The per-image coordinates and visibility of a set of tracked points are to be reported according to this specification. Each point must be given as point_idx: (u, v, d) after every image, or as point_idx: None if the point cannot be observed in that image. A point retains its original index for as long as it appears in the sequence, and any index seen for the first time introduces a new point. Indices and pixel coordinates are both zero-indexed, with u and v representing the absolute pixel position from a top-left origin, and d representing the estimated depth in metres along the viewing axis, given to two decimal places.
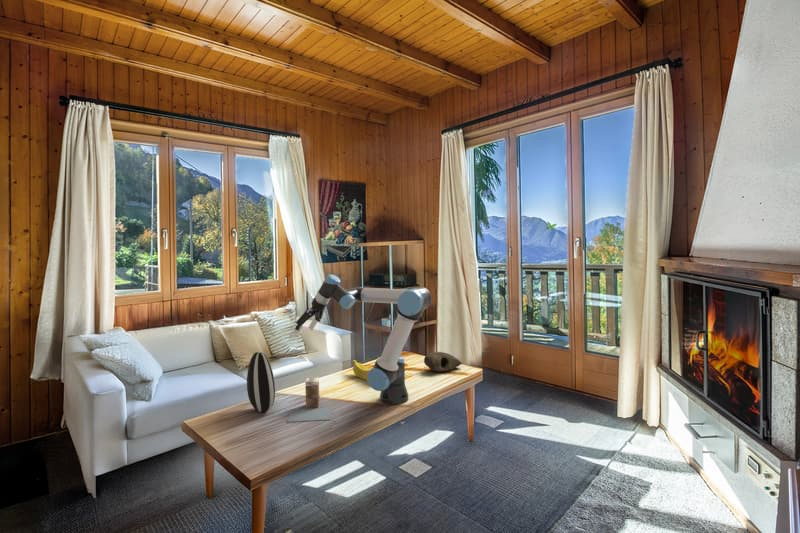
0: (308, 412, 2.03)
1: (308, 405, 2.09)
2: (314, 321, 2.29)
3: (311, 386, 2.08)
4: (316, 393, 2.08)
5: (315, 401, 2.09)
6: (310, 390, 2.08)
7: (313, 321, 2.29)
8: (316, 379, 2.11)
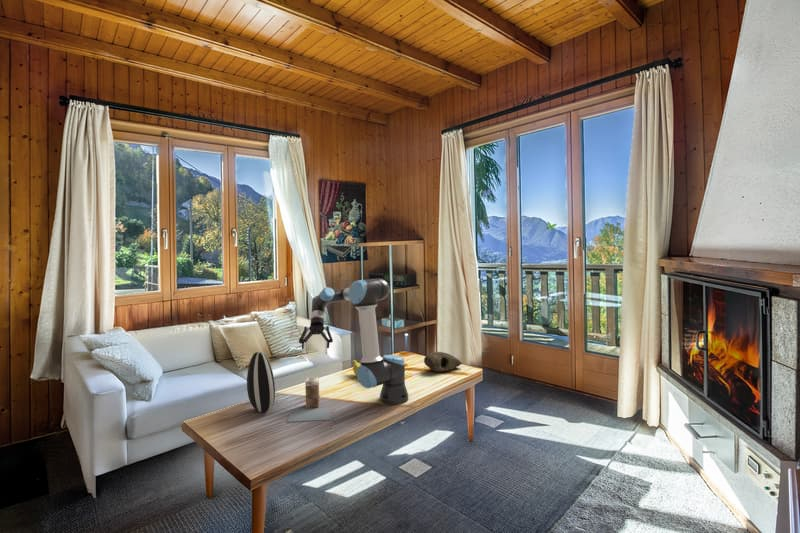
0: (308, 412, 2.03)
1: (308, 405, 2.09)
2: None
3: (311, 386, 2.08)
4: (316, 393, 2.08)
5: (315, 401, 2.09)
6: (310, 390, 2.08)
7: (325, 345, 2.30)
8: (316, 379, 2.11)
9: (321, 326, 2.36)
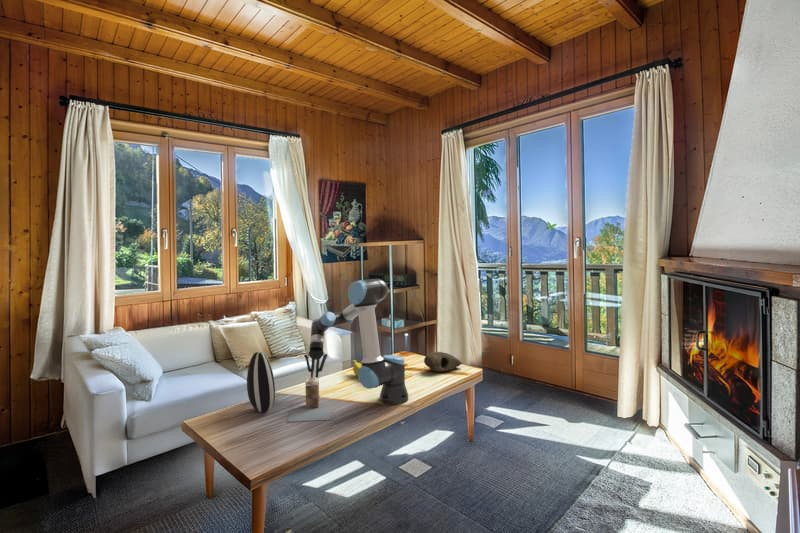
0: (308, 412, 2.03)
1: (308, 405, 2.09)
2: None
3: (311, 386, 2.08)
4: (316, 393, 2.08)
5: (315, 401, 2.09)
6: (310, 390, 2.08)
7: None
8: (316, 379, 2.11)
9: (321, 351, 2.31)
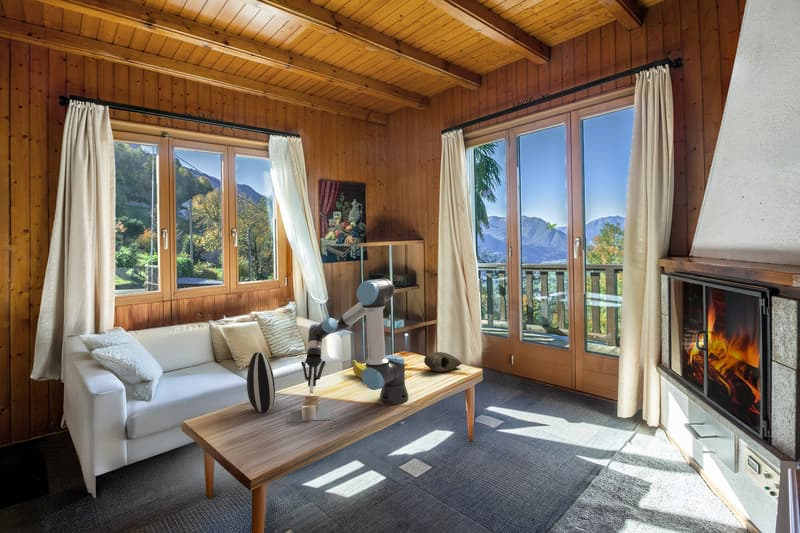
0: None
1: None
2: None
3: None
4: None
5: None
6: None
7: None
8: (313, 413, 1.95)
9: (319, 358, 2.20)
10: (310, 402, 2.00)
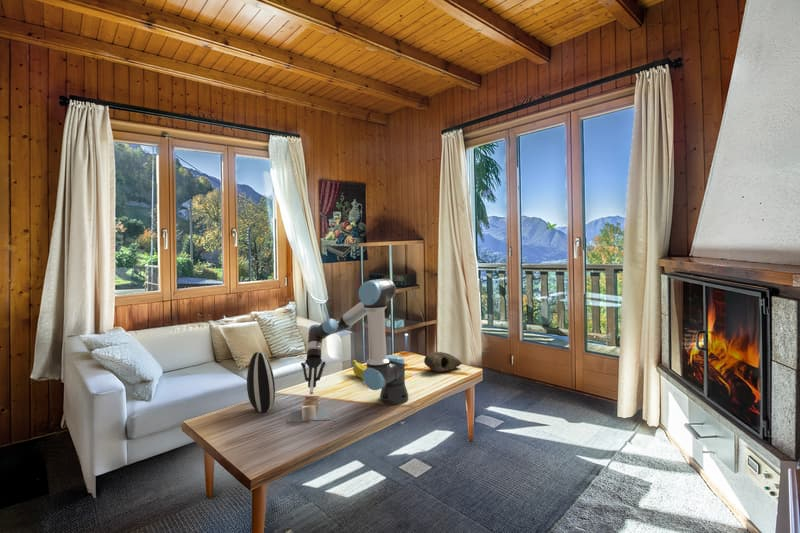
0: None
1: None
2: None
3: None
4: None
5: None
6: None
7: None
8: (313, 413, 1.95)
9: (319, 359, 2.19)
10: (310, 402, 2.00)
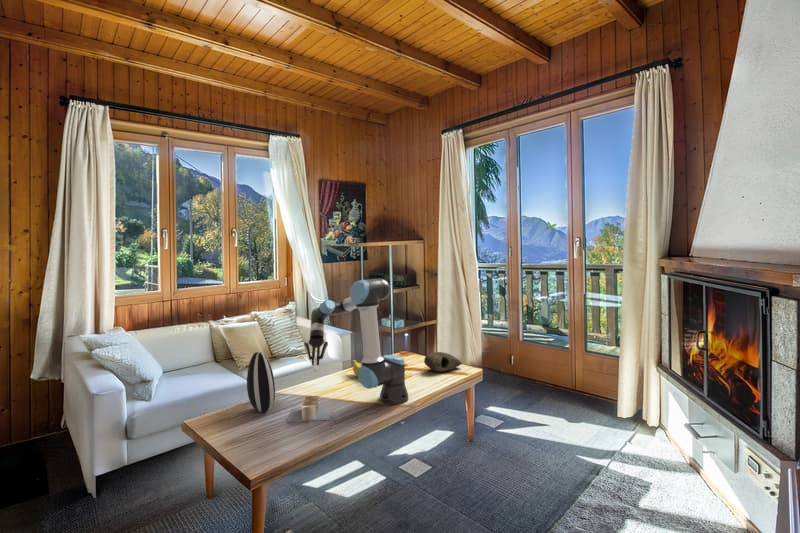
0: None
1: None
2: None
3: None
4: None
5: None
6: None
7: None
8: (313, 413, 1.95)
9: (321, 339, 2.32)
10: (310, 402, 2.00)
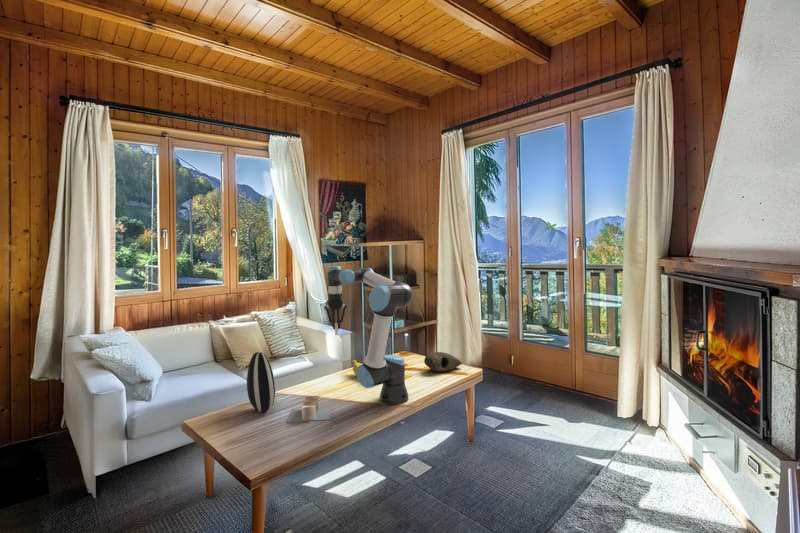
0: None
1: None
2: None
3: None
4: None
5: None
6: None
7: None
8: (313, 413, 1.95)
9: (340, 302, 2.34)
10: (310, 402, 2.00)
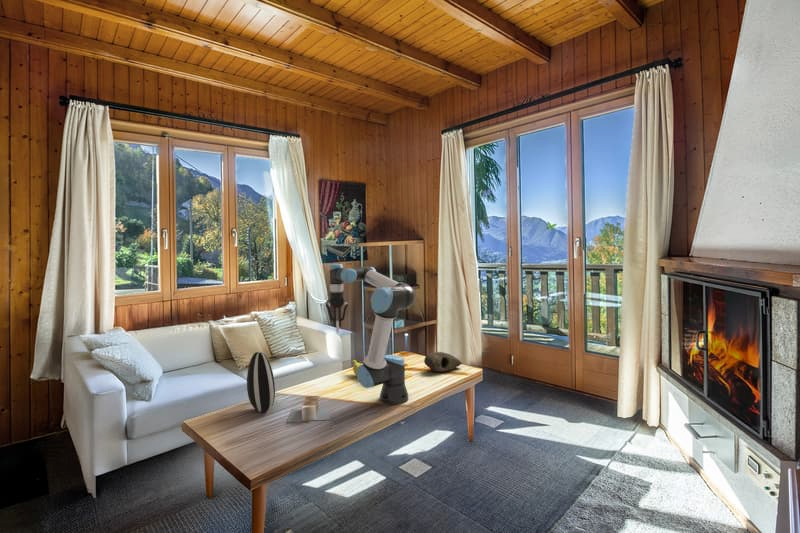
0: None
1: None
2: None
3: None
4: None
5: None
6: None
7: None
8: (313, 413, 1.95)
9: (342, 300, 2.33)
10: (310, 402, 2.00)
